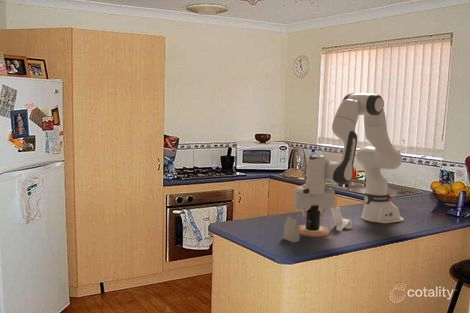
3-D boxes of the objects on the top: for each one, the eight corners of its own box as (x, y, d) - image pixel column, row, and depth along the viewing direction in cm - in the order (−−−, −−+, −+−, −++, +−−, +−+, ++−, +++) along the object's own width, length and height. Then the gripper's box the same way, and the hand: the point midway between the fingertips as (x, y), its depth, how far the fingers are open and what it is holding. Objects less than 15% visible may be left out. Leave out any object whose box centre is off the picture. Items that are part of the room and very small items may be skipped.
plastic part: (351, 228, 250) (353, 205, 249) (341, 231, 243) (343, 208, 241) (338, 225, 255) (340, 202, 254) (328, 228, 248) (329, 205, 246)
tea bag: (292, 242, 223) (293, 220, 222) (283, 238, 228) (284, 217, 227) (299, 241, 225) (300, 219, 224) (289, 237, 231) (290, 216, 229)
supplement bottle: (305, 230, 237) (306, 205, 235) (305, 226, 243) (306, 202, 242) (319, 231, 236) (320, 206, 234) (319, 227, 242) (320, 203, 241)
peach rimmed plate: (321, 226, 250) (321, 223, 250) (335, 236, 235) (335, 232, 234) (291, 228, 246) (291, 225, 246) (303, 237, 230) (303, 234, 230)
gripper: (332, 186, 243) (330, 214, 245) (292, 187, 238) (291, 216, 240) (337, 189, 237) (336, 217, 239) (297, 190, 232) (296, 219, 234)
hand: (313, 216), depth 239 cm, fingers open, 8 cm apart
